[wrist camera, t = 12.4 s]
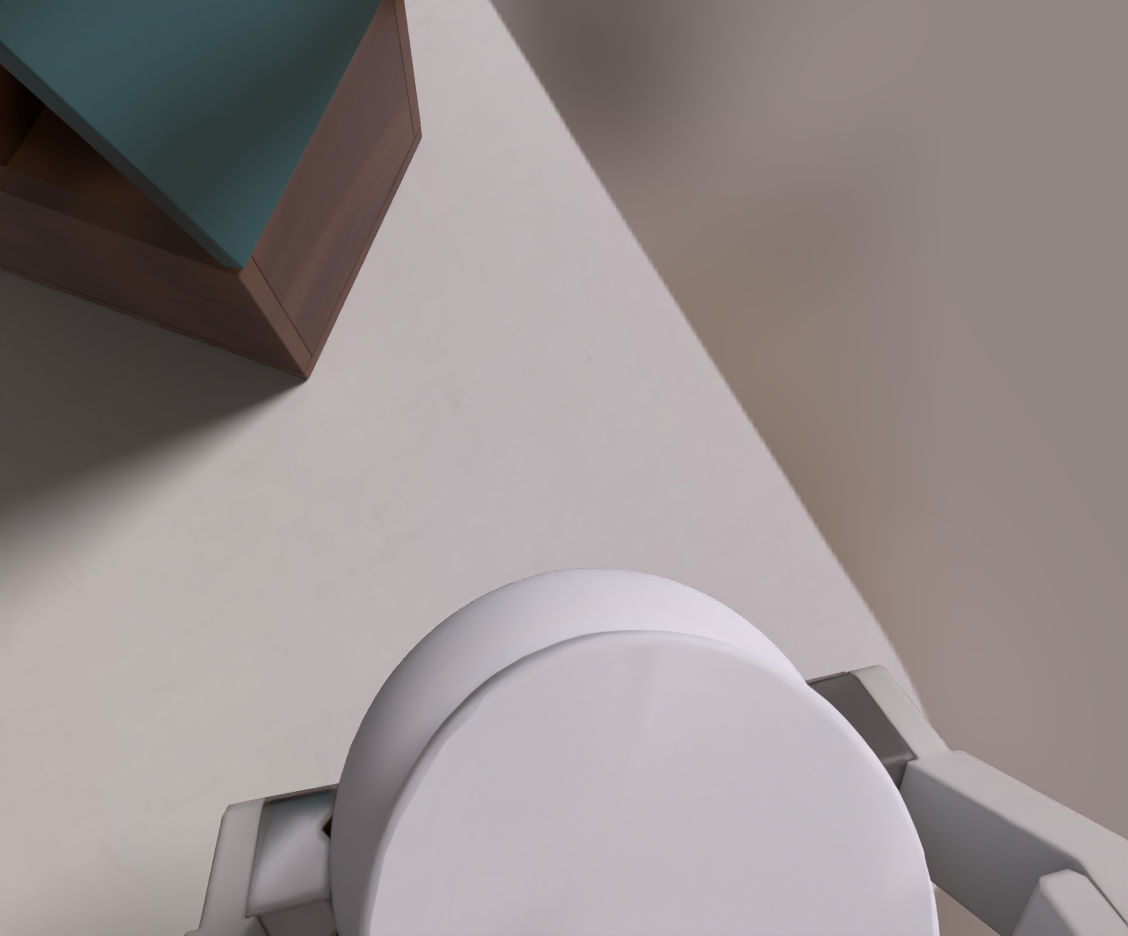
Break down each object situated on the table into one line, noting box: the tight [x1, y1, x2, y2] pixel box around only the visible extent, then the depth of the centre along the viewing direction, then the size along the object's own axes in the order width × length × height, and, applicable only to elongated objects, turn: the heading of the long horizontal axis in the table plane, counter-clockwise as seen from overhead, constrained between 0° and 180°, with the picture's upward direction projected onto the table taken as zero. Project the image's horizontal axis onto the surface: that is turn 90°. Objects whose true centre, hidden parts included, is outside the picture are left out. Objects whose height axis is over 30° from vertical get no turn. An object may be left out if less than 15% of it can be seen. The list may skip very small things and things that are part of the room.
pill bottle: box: [330, 568, 940, 936], centre depth 11 cm, size 6×6×12 cm
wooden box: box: [0, 0, 422, 379], centre depth 28 cm, size 16×13×9 cm
